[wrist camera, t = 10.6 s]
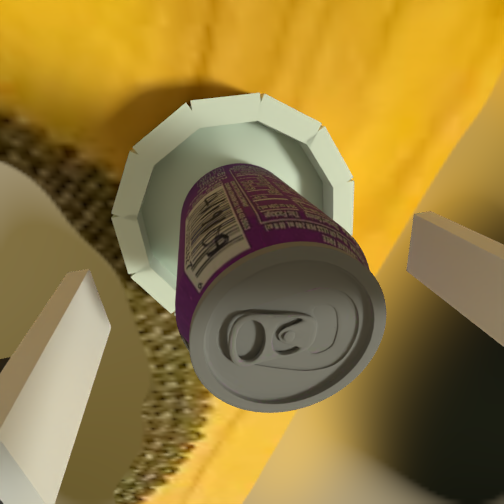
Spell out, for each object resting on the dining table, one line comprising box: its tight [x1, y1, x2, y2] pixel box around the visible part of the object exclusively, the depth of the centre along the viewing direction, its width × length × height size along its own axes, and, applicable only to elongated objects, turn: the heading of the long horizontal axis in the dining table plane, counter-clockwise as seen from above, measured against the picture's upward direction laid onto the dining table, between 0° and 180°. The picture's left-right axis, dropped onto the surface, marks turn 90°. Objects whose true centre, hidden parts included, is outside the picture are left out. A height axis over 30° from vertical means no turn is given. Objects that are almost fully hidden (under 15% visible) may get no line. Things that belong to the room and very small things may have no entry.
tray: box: [111, 93, 354, 316], centre depth 20 cm, size 14×14×2 cm
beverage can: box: [175, 163, 386, 413], centre depth 15 cm, size 7×7×12 cm
